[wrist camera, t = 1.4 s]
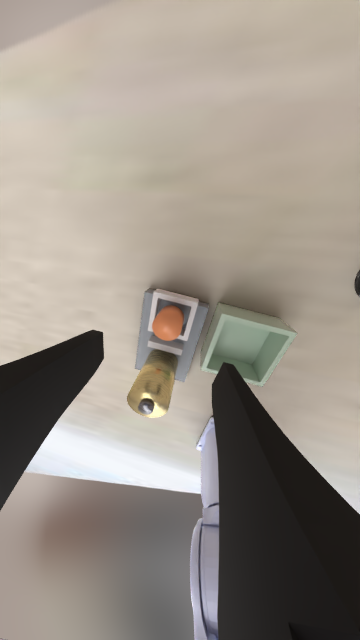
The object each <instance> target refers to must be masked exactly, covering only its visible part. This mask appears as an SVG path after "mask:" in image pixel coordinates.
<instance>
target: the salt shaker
mask: <svg viewBox="0 0 360 640" xmlns="http://www.w3.org/2000/svg"><path fill="white" fill-rule="evenodd" d="M355 290H356V293H357V294H358V296H359V297H360V270H359V272H358V274H357V277H356V279H355Z"/></svg>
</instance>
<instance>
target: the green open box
mask: <svg viewBox="0 0 360 640" xmlns="http://www.w3.org/2000/svg"><path fill="white" fill-rule="evenodd" d="M296 335H297V332H296V331H294V330H293V329H292V328H291V327H290V326H288V325H287V324H286V323H285V322H284V321H282V320H281V319H280V318H277V317H274V316H270V315H266V314H262V313H258V312H254V311H250V310H246V309H243V308H239V307H235V306H231V305H227V304H223V303H219V302H218V304H217V307H216V310H215V313H214V316H213V318H212V321H211V324H210V327H209V330H208V333H207V335H206V338H205V341H204V344H203V347H202V350H201V370H202V371H206V372H210V373H213V374H218V372H219V370H220V368H221V366H222V364H223V362H226V363H230V364H234V366H235V367H236V369H237V370H238V372H239V373H240V375H241V376H242V378H243V379H244V381H245V382H246V383H250V384H254V385H257V386H261V387H263V385H264V384H265V382H266V381H267V379H268V378H269V376H270V375H271V373H272V372H273V370H274V369H275V367H276V366H277V364H278V363H279V361H280V359H281V358H282V356H283V355H284V353H285V352H286V350H287V349H288V347H289V346H290V344H291V343H292V341H293V340H294V338H295V337H296Z"/></svg>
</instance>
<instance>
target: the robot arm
mask: <svg viewBox="0 0 360 640" xmlns="http://www.w3.org/2000/svg"><path fill="white" fill-rule="evenodd" d="M103 359H104V348H103V332H100V331H96V330H91V331H88V332H85V333H83V334H81V335H78V336H76V337H74V338H71V339H69V340H67V341H64V342H62V343H59V344H57V345H55V346H52V347H50V348H47V349H45V350H42V351H40V352H37V353H34V354H32V355H29V356H26V357H24V358H21V359H19V360H16V361H13V362H10V363H7V364H4V365H1V366H0V510H1V508H2V507H3V505H4V504H5V502H6V500H7V498H8V497H9V495H10V494H11V492H12V490H13V489H14V487H15V485H16V484H17V482H18V480H19V479H20V477H21V476H22V474H23V473H24V471H25V469H26V468H27V466H28V465H29V463H30V461H31V460H32V458H33V457H34V455H35V454H36V452H37V451H38V449H39V448H40V446H41V444H42V443H43V441H44V440H45V438H46V437H47V435H48V434H49V432H50V431H51V429H52V428H53V427H54V425H55V424H56V422H57V421H58V419H59V418H60V417H61V415H62V414H63V413H64V411H65V410H66V409H67V407H68V406H69V405H70V404H71V402H72V401H73V400H74V399H75V397H76V396H77V395H78V394H79V392H80V391H81V390H82V389H83V387H84V386H85V385H86V384H87V382H88V381H89V380H90V379H91V377H92V376H93V375H94V373H95V372H96V370H97V369H98V367H99V365H100V364H101V362H102V360H103ZM212 408H213V417H211V418H210V420H209V422H208V424H207V426H206V427H205V429H204V431H203V433H202V435H201V437H200V439H199V441H198V443H197V445H196V449H197V450H200V451H201V497H202V502H203V505H204V508H203V518H200V519H199V520H198V521H197V524H196V526H195V528H194V531H193V535H192V542H191V554H190V585H191V599H192V606H193V613H194V636H195V640H360V514H359V513H358V512H357V511H356V510H354V509H353V508H352V507H351V506H350V505H349V504H348V503H347V502H346V501H345V499H344V498H343V497H342V496H341V495H340V494H339V493H338V492H337V491H336V490H335V489H334V488H333V487H332V486H331V485H330V484H329V483H328V482H327V481H326V480H325V479H324V478H323V477H322V476H321V475H320V473H319V472H318V471H317V470H316V469H315V468H314V467H313V466H312V465H311V464H310V463H309V462H308V461H307V459H306V458H305V457H304V456H303V455H302V454H301V453H300V452H299V451H298V449H297V448H296V447H295V446H294V445H293V444H292V442H291V441H290V440H289V439H288V438H287V437H286V435H285V434H284V433H283V432H282V431H281V429H280V428H279V427H278V426H277V424H276V423H275V422H274V421H273V419H272V418H271V417H270V415H269V414H268V413H267V411H266V410H265V409H264V407H263V406H262V405H261V403H260V402H259V401H258V399H257V398H256V396H255V395H254V394H253V392H252V391H251V389H250V388H249V386H248V385H247V383H246V382H245V381H244V379H243V378H242V376H241V375H240V373H239V372H238V370H237V369H236V367H235V366H234V364H230V363H226V362H223V364H222V366H221V368H220V370H219V372H218V374H217V376H216V378H215V380H214V382H213V384H212ZM0 640H6V639H2V638H0Z"/></svg>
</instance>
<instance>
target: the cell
mask: <svg viewBox="0 0 360 640" xmlns="http://www.w3.org/2000/svg"><path fill="white" fill-rule="evenodd" d="M177 366H178V360H177V357H176V356H175V354H173V353H170V352H166V351H162V350H159V349H155V350H153V351H151V352H150V354H149V355H148V357H147V359H146V361H145V363H144V365H143V367H142V369H141V371H140V373H139V374H138V376H137V378H136V380H135V382H134V384H133V386H132V388H131V390H130V392H129V394H128V396H127V402H128V404H129V406H130V407H131V408H132V409H133V410H134V411H135V412H136V413H138V414H140V415H142V416H146V417H152V418H154V417H160V416H163V415H164V414H165V413H166V412H167V411H168V408H169V403H170V399H171V394H172V390H173V385H174V380H175V376H176V371H177Z"/></svg>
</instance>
